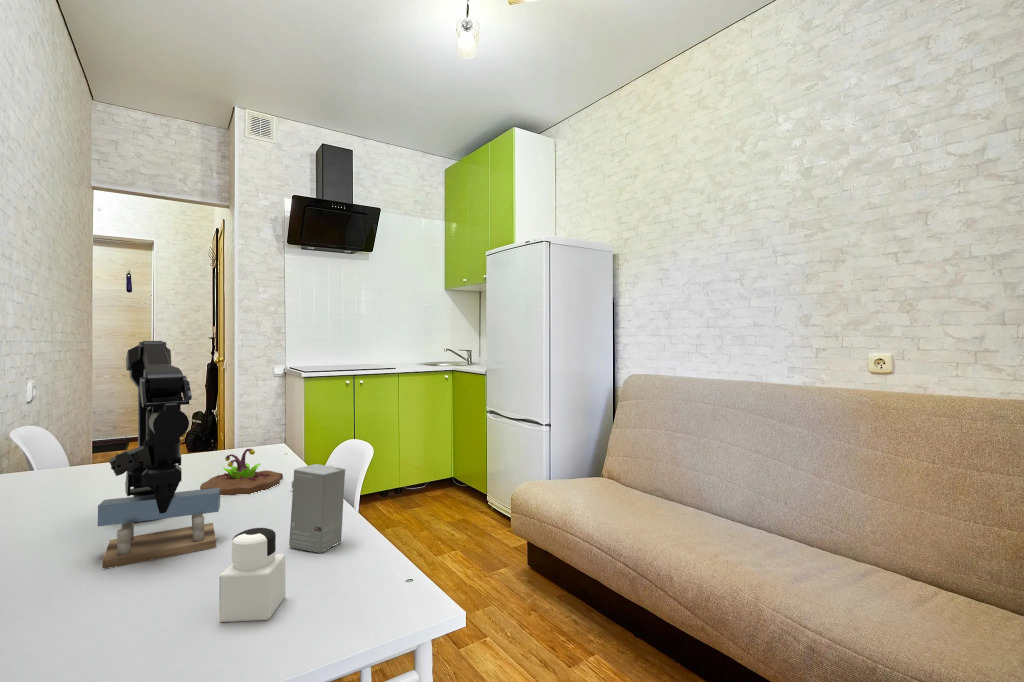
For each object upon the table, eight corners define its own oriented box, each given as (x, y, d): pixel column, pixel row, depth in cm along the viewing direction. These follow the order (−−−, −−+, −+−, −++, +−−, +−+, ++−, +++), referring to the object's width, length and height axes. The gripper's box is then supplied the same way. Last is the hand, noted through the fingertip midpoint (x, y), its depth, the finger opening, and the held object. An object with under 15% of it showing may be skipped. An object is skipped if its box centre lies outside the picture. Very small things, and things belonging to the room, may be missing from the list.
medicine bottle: (240, 599, 82) (240, 524, 82) (286, 597, 82) (286, 523, 82) (218, 623, 75) (218, 541, 75) (268, 620, 75) (268, 539, 75)
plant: (259, 497, 137) (259, 456, 138) (187, 497, 138) (187, 456, 138) (291, 478, 157) (291, 442, 158) (229, 478, 158) (229, 442, 158)
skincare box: (288, 548, 102) (288, 469, 102) (314, 536, 109) (314, 462, 109) (321, 554, 99) (321, 473, 99) (346, 541, 105) (346, 465, 106)
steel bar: (220, 506, 109) (220, 487, 109) (218, 511, 105) (218, 492, 105) (104, 520, 100) (104, 499, 100) (97, 526, 97) (97, 505, 97)
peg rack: (109, 547, 103) (110, 517, 103) (212, 529, 112) (212, 502, 112) (102, 569, 93) (102, 536, 93) (216, 547, 102) (216, 517, 102)
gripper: (117, 430, 106) (117, 504, 106) (107, 444, 90) (106, 532, 90) (181, 425, 112) (181, 495, 112) (181, 438, 97) (181, 520, 97)
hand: (163, 509), depth 103 cm, fingers closed on steel bar, 4 cm apart
